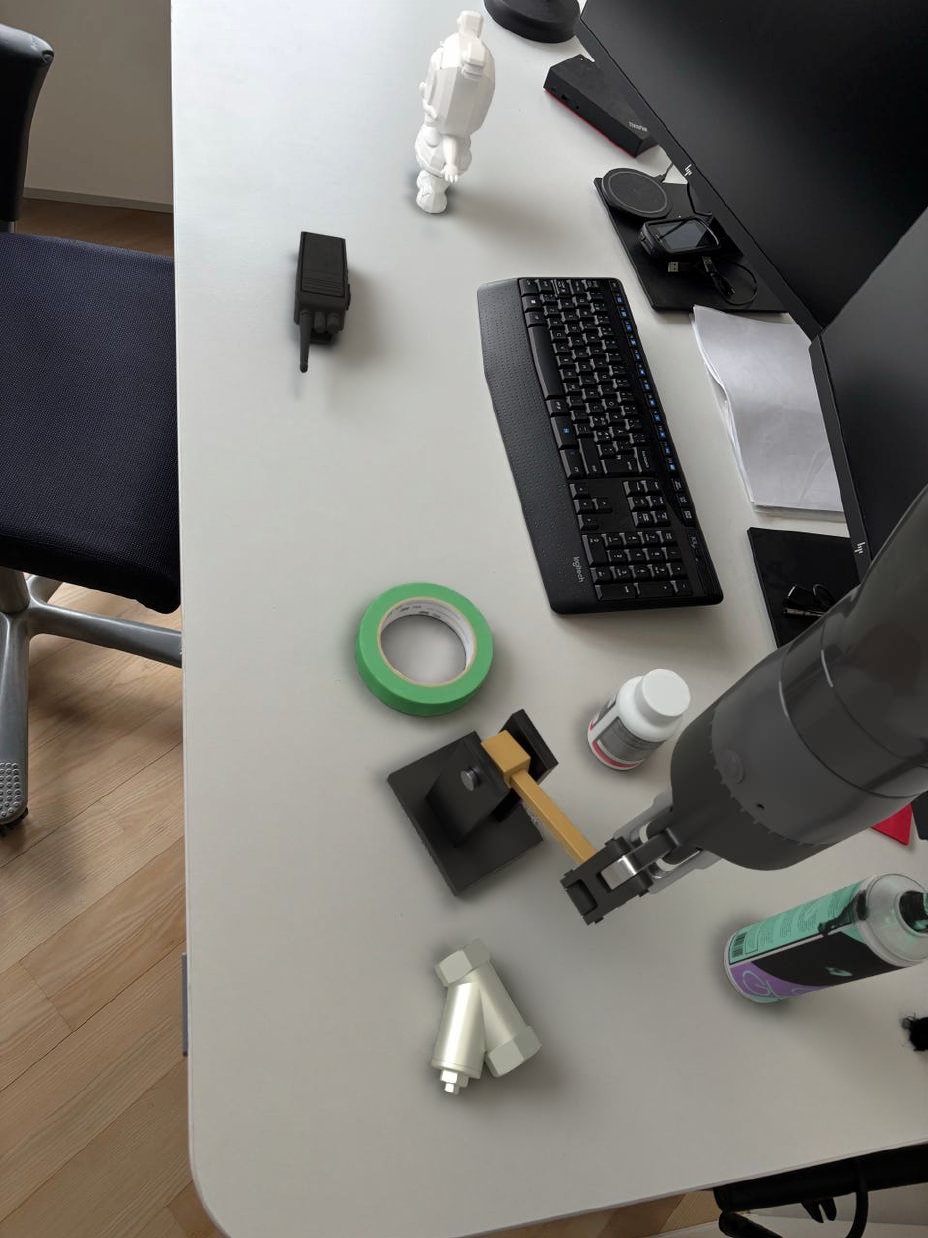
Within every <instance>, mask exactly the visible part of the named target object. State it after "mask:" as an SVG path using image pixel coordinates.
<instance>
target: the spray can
mask: <svg viewBox="0 0 928 1238" xmlns="http://www.w3.org/2000/svg"><path fill="white" fill-rule="evenodd" d="M926 961H928V889H927V888H926V887H925V886H924V885H923V884H922V883H921V882H919V881H918V880H917V879H915V878H913V877H912V876H910V875H908V874H905V873H902V872H897V871H891V872H885V873H878V874H875V875H873V876H870V877H867V878H864V879H861V880H860V881H857V882H854V883H852V884H850V885H847V886H845V887H842V888H839V889H837V890H835V891H831V892H830V893H827V894H825V895H822V896H820V897H817V898H815V899H812V900H810V901H807V902H805V903H803V904H800V905H797V906H795V907H792V908H790V909H787V910H785V911H783V912H780V913H778V914H775V915H772V916H770V917H768V918H765V919H762V920H760V921H757V922H754V923H752V924H751V925H748V926H746V927H743V928H740V929H738V930H737V931H735V932H733V933H732V935H731V936H730V937H729V938H728V940H727V942H726V944H725V947H724V949H723V964H724V969H725V973H726V975H727V978H728V980H729V982H730V983H731V985H732V986H733V987H734V989H735V990H736V991H737V992H738V993H739V994H740V995H741V996H743V997H744V998H746V999H747V1000H749V1001H752V1002H754V1003H757V1004H766V1003H774V1002H777V1001H781V1000H785V999H790V998H794V997H797V996H801V995H806V994H809V993H813V992H817V991H821V990H825V989H829V988H833V987H836V986H841V985H844V984H849V983H852V982H856V981H861V980H864V979H868V978H871V977H876V976H880V975H883V974H888V973H892V972H896V971H899V970H904V969H907V968H911V967H915V966H917V965H921V964H922V963H925V962H926Z"/></svg>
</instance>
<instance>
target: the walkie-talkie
mask: <svg viewBox="0 0 928 1238" xmlns="http://www.w3.org/2000/svg"><path fill="white" fill-rule="evenodd" d="M299 237H300V238H299V247H298V254H297V255H298V256H297V264H296V275H295V288H294V289H295V290H294V307H293V322H294V324H295V325H297V326H299V337H300V339H299V371H300V372H301V373H302V374H306V373H307V372H308V369H309V364H308V363H309V359H310V358H309V356H310V355H309V354H310V342H311V343H312V342H313V343H320V344H325V345H331V344H333V343H332V342H333V335H336V334H338V333H339V332H342V331H343V330H344V326H345V321H346V314H347V312H348V311H349V309H350V306H351V300H352V292H351V284H350V283H349V268H348V253H347V241H346V240H347V239H346V238H344V237H340V236H334V235H328V234H323V233H317V232H311V231H304V230H303V231H300V236H299Z"/></svg>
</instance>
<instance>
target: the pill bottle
mask: <svg viewBox="0 0 928 1238" xmlns="http://www.w3.org/2000/svg"><path fill="white" fill-rule="evenodd" d="M691 699H692V697H691V691H690V688H689V686H688V685H687V683H686V682H685V680H684V679H683V678H682V677H681V676H680V675H679V674H678V673H676V672H674V671H672V670H670V669H667V668H666V669H665V668H655V669H652V670H650V671H649V672H647V674H645V675H639V676H635V677H633V678H630V679H629V680H627V681H626V682H625V683H623V684H622V685H621V687H620V688H619V689H618V690H617V691H616V692H615V693H614V694H613V695H612V696H611V698H609V700H608V701H607V702H606V703H605V704H604V705H603V706H602V707H601V708H600V710H599V711H598V712H597V713H596V714H595V716H593V717H592V719H591V720H590V722H589V725H588V728H587V741H588V745H589V747H590V749H591V751H592V753H593V755H594V756H595V757H596V758H597V759H598V760H599V761H600V762H601V763H602V764H604V765H606V766H607V767H609V768H612V769H615V770H619V771H620V770H622V771H624V770H625V771H626V770H631V769H634V768H636V767H637V766H639V765H640V764H642V763H643V762H644V761H645V760H646V759H648V757H649V756H651V755H652V754H653V753H654V752H656V750H657V749H659V748H660V747H661V746H662V745H664V744H665V743H666V742H667V741H668V740H669V739H671V738H672V737H673V736H674V735H675V734H676V733H677V731H678V730H679V729H680V726H681V725H682V722H683V717H684V714H685V713H686V712H687V711H688V709H689V707H690V705H691Z"/></svg>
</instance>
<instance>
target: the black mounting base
mask: <svg viewBox="0 0 928 1238" xmlns="http://www.w3.org/2000/svg"><path fill="white" fill-rule="evenodd" d="M504 730H507V732H508V733H509V734H510V735H511V736H512V737H513V738H514V739H515V741H516V742H517V743H518V744H519V745H520V746H521V747H522V748H523V750H524V751H525V752H526V753H527V754H528V755H529V756H530V758H531V760H530V765H529V770H528V774H529V775H530V776H531V777H532V779H533V780H534V781H535V782H536V783H537V784H538V785H539V786H540V785H541V784H542V783H543V781H544V780H546V778H547V777H548V776H549V775H550V774H551V773H552V772H553V770H555V768H556V767H558V766H559V761H558V759H557V758H556V756H555V755H554V754H553V752H552V751H551V749H550V747H549V746H548V744H547V743H546V741H545V740H544V737H542V735H541V734H540V732H539V730H538V729H537V727H536V726H535V725H534V723H533V721H532V719H531V718H530V717H529V715H528V714H527V712H526V711H525V709H524V708H520V709H519V710H517V711H515V712H512V713H511V714H510V716H509V717H508V719H507V720H506V721H505V723H504V724H503V725H502V727H501V729H500V730H499V731H498V733H500V732H502V731H504ZM481 742H483V740H482V739H481V737H480V735H479V734H478V732H477V730H473V731H471V732H469V733H467V734H466V735H464V736H462V737H459V738H458V739H455V740H453V741H452V742H450V743H448V744H446V745H444V746H442V747H440V748H437V749H436V750H434V751H432V752H431V753H428V754H426V755H424V756H422V757H419V758H417V760H415V761H412V762H410V763H408V764H407V765H405V766H403V767H401V768H399V769H397V770H395V771H393V772H391V773H389V774H388V777H386V781H387V783H388V785H389V786H390V788H391V790H392V791H393V793H394V795H395V797H396V799H397V800H398V802H399V803H400V805H401V807H402V809H403V810H404V812H405V814H406V815H407V817H408V820H409V821H410V822H411V824H412V825H413V827H414V829H415V831H416V833H417V834H418V836H419V838H420V840H421V841H422V843H423V845H424V846H425V848H426V850H427V851H428V853H429V854H430V858H431V859H432V860H433V861H434V864H435V865H436V867H437V870H438V871H439V872H440V874H441V876H442V877H443V879H444V881H445V882H446V884H447V886H448V888H449V889H450V891H451V893H452V894H453V896H457V895H458V894H460V893H462V892H463V891H465V890H467V889H468V888H470V887H472V886H473V885H475V884H477V883H478V882H479V881H481V880H483V879H485V878H486V877H489V876H490V875H491V874H493V873H495V872H496V871H499V870H500V869H501V868H503V867H504V866H506V865H508V864H509V863H511V862H513V861H515V860H516V859H517V858H519V857H521V856H523V855H524V854H526V853H528V852H530V851H531V850H533V849H535V848H536V847H538V846H539V845H541V844H542V843H543V842H545V838H544V837H543V835H542V834H541V832H540V831H539V829H538V828H537V826H536V824H535V823H534V821H533V819H532V818H531V817H530V815H529V813H528V812H527V811H526V808H525V807H524V805H523V802H524V800H523V799H522V798H521V797H520V796H519V795H518V793H517V792H516V791H515V790H514V789H513V788H512V787H511V788H510V789H509V787H508V786H507V784H506V783H505V781H504V779H503V778H502V776H501V775H500V773H499V771H498V770H497V768H496V767H495V765H494V764H493V762H492V760H491V759H490V757H489V756H488V754H487V752H486V751H485V749H484V748H483V746H482V744H481Z"/></svg>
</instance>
